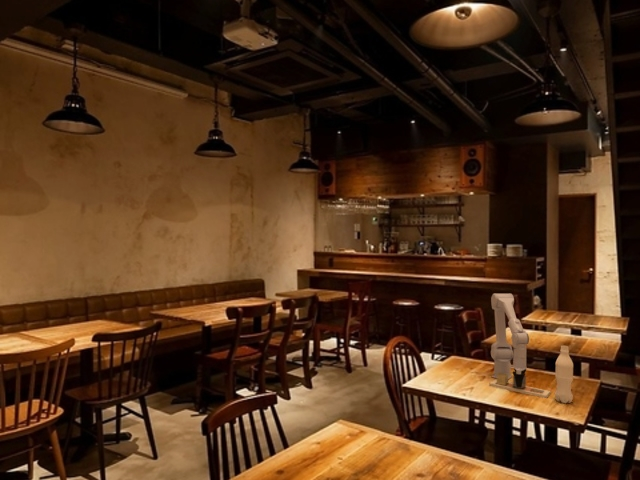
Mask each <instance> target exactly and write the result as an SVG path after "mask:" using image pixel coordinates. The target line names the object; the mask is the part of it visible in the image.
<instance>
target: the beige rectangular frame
mask: <svg viewBox="0 0 640 480" xmlns="http://www.w3.org/2000/svg"><path fill="white" fill-rule="evenodd" d="M488 386H489V387H493V388H499V389H502V390H507V391H512V392H516V393H520V394H525V395H530V396H534V397H539V398H544V399H548V397H549V396H550V395H551V394H552V392H551V391H550V390H547V389H542V388H537V387H531V386H527V385H525V389H523V390H521V389H517V388H513V382H509V381H508V385H507V386H503V385H498V384H497V379H494V380H492V381H491V382H489V385H488Z"/></svg>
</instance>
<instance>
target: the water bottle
mask: <svg viewBox="0 0 640 480" xmlns="http://www.w3.org/2000/svg"><path fill="white" fill-rule="evenodd" d="M559 351H560V353H559V355H558V357H557V359H556V361H555V374H554V376H555V379H556V390H555V392H554V397H555V399H556V401H557V402H560V403H562V404H567V403H568V404H571V402H572V400H573V399H574V396H573V392H572V389H571V388H572V387H571V386H572V382H573V381H574V362H573V360H572V358H571V357H570V351H569V346H568V345H560V350H559Z"/></svg>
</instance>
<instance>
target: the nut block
mask: <svg viewBox="0 0 640 480" xmlns="http://www.w3.org/2000/svg"><path fill="white" fill-rule="evenodd" d="M512 379H513V382H512V383H513V388H517V389H521V390H523V389H525V386H527V384H526V381H527V379H526V375H525V376H524V378H523V382H522V387H517V386H516V382H515V377H514V375H512Z"/></svg>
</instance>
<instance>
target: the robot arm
mask: <svg viewBox="0 0 640 480" xmlns="http://www.w3.org/2000/svg"><path fill="white" fill-rule="evenodd" d="M490 299H491V300H490V302H491V309H492V310H494V323H495V339H496V341H495V342H494V343H492V344H491V346H490V347H491V349H490V355H491V359H493V361H494V366H493V370H494V371H493V373H494V374H493V375H491V377H490V378H494V379H497V374H498V373H505V374H508V380H510V378H513V375H514V377H515V382H516V386H517V387H522V382H523V378H524V376H526V372H527V345H529V342H530V336H529V333H528V332H527V331H526V330H524V328H523V326H522V325H523V324H522V323H521V320H520V319H519V318H517V316H516V312H515V309H514V303H515V298H514V295H513V294H512V293H492V295H491V298H490ZM506 316H507V319H508V322H507V324H508V327H509V330H510V333H511V344H510V343H509V342H507V329H506V327H507V326H506ZM511 360H513V361H512V362H513V363H512V364H511ZM512 368H513V370H514V371H512ZM511 371H512V373H511ZM512 374H513V375H512Z"/></svg>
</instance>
